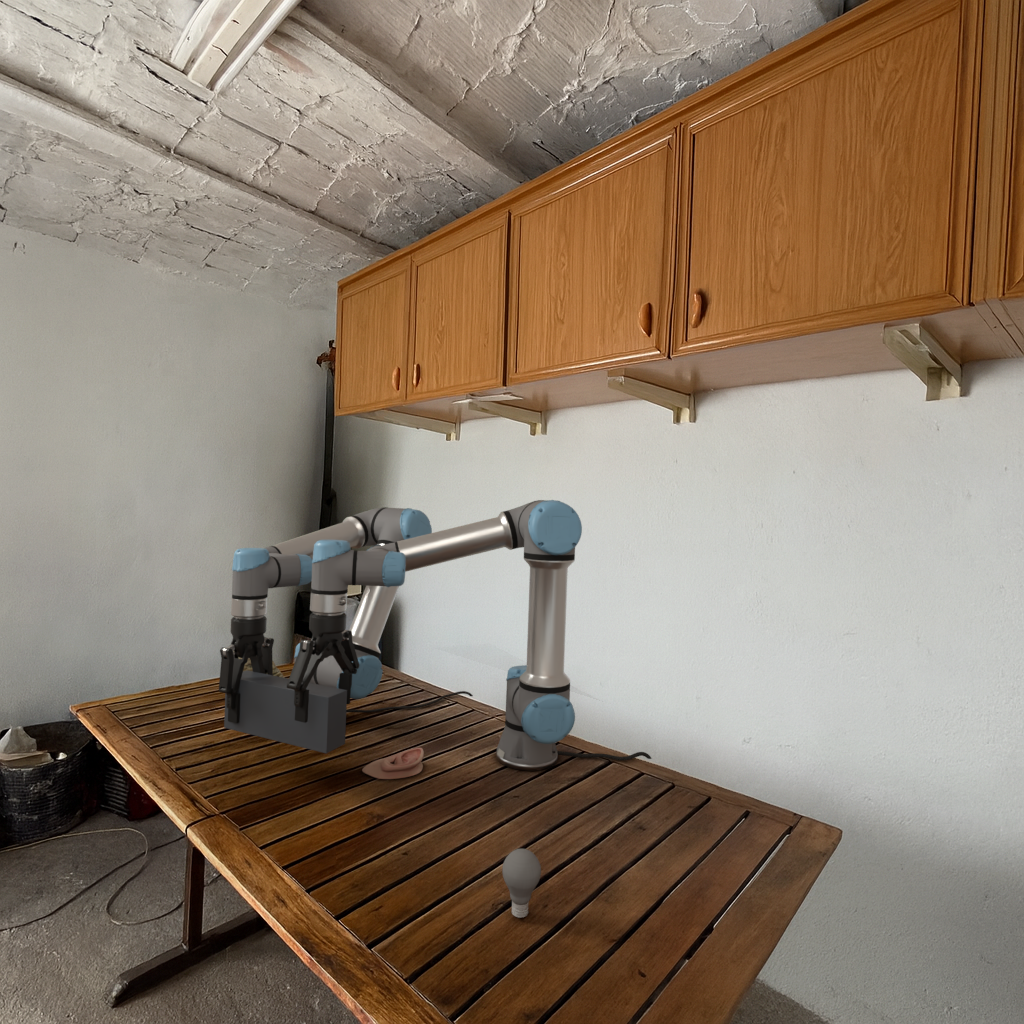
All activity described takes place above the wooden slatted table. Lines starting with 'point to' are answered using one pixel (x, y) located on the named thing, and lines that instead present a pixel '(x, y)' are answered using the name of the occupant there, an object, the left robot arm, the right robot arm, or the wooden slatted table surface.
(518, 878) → the light bulb
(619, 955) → the wooden slatted table surface
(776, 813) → the wooden slatted table surface
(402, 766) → the anatomical model
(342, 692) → the box
